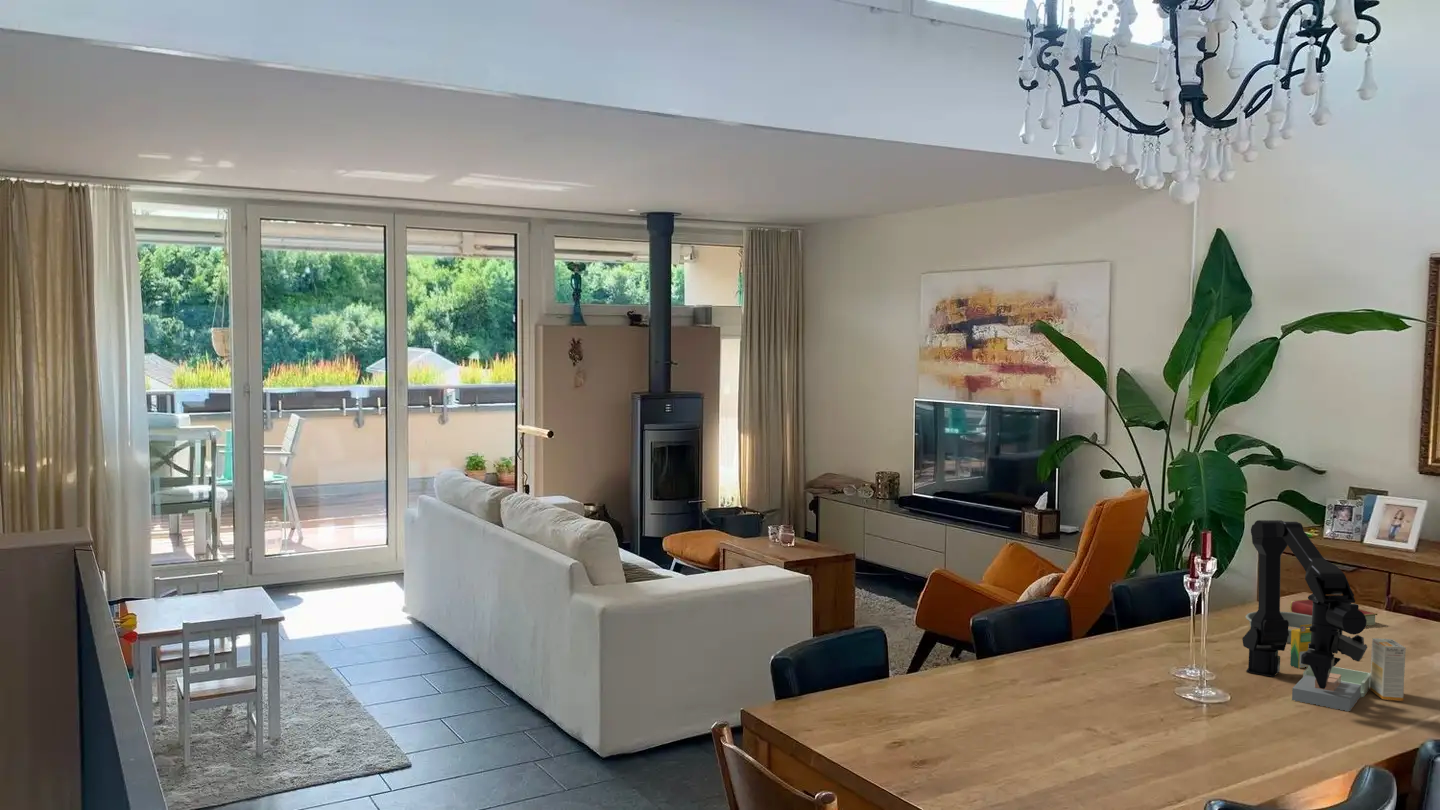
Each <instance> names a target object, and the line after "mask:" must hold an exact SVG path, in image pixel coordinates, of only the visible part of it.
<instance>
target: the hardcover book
mask: <svg viewBox="0 0 1440 810" xmlns="http://www.w3.org/2000/svg"><path fill="white" fill-rule="evenodd" d="M1289 607H1290V608H1289V609H1290V612H1291V613H1299V614H1305V615H1311V616H1312V608H1313V601H1312V600H1309V599H1308V598H1306V599H1296V600H1291V602H1290V606H1289ZM1358 610H1359V611H1361V612H1362V613H1363V614H1364V615H1365V618H1366V620H1367V623H1366V626H1365V627H1367V625H1368V626H1375V625H1376V616H1378V613H1375V612H1372V611H1369V610H1364V609H1362V608H1359V609H1358Z"/></svg>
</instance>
